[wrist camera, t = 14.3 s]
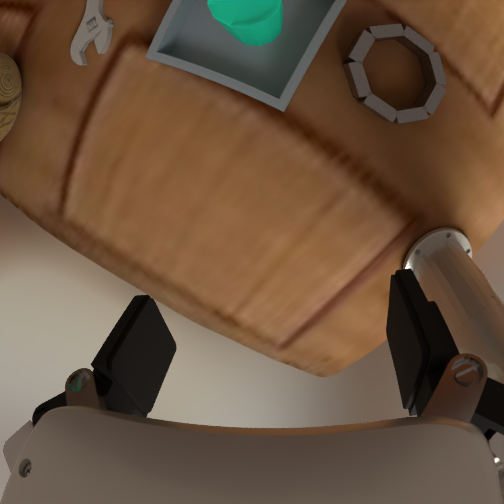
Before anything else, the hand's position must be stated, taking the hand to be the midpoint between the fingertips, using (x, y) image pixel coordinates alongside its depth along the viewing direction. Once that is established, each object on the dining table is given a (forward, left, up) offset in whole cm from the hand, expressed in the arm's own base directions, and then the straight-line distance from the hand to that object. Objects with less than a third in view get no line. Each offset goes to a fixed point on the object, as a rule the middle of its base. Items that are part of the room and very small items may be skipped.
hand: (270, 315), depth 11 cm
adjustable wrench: (+33, -14, -28) cm, 45 cm away
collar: (-7, -16, -27) cm, 32 cm away
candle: (+10, -13, -26) cm, 31 cm away
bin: (+10, -13, -27) cm, 32 cm away
